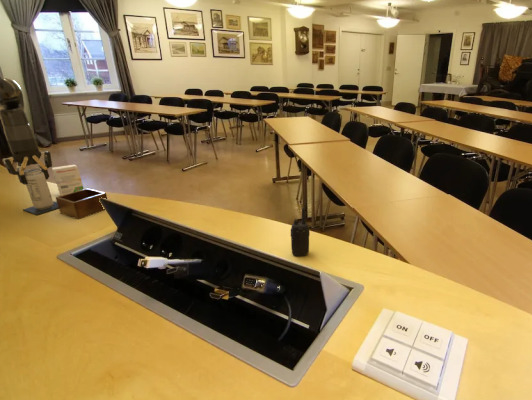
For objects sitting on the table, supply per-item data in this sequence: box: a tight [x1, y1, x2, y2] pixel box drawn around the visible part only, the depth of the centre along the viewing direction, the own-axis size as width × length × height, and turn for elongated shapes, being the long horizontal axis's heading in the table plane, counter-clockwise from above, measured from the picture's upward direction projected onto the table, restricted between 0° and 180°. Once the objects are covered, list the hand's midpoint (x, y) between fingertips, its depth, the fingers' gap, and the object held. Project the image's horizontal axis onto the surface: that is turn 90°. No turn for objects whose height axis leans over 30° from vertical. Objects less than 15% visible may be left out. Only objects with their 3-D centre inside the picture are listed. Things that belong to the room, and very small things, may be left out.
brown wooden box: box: [55, 187, 108, 220], centre depth 123 cm, size 12×12×6 cm
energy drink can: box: [23, 168, 54, 210], centre depth 122 cm, size 6×6×15 cm
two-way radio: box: [290, 206, 310, 257], centre depth 92 cm, size 6×4×15 cm
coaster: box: [22, 200, 59, 216], centre depth 125 cm, size 10×10×1 cm
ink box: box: [51, 164, 85, 196], centre depth 140 cm, size 8×5×12 cm, turn 134°
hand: (35, 181), depth 121 cm, fingers closed on energy drink can, 6 cm apart
